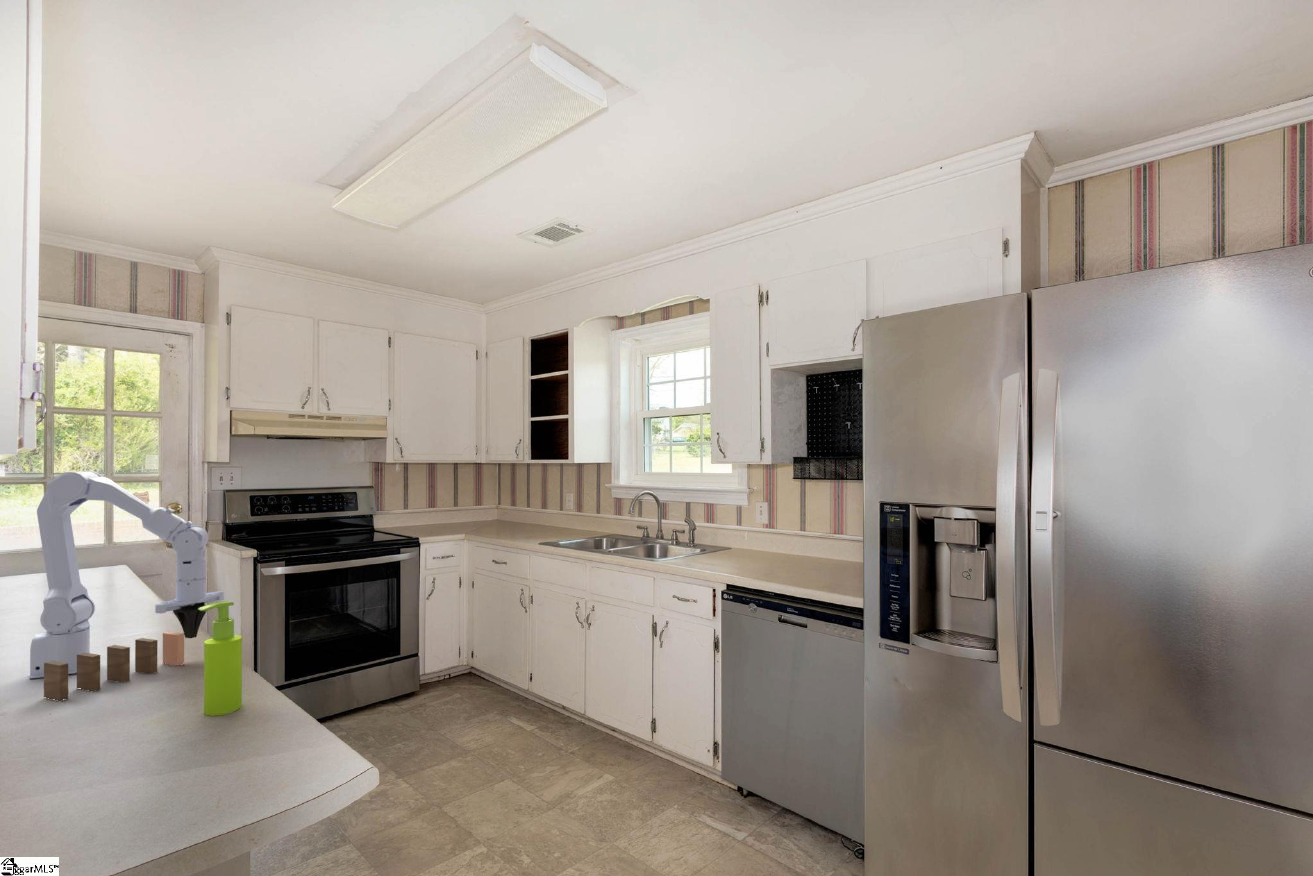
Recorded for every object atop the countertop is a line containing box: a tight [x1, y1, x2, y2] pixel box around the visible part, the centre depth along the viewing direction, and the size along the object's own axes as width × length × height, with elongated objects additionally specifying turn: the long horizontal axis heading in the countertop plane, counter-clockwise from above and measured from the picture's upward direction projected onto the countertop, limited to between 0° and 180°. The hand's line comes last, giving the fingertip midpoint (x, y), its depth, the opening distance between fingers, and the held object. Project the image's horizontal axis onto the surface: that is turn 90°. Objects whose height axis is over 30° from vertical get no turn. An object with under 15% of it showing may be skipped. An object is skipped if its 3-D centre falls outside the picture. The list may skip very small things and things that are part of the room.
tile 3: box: [106, 644, 131, 684], centre depth 140 cm, size 1×5×7 cm, turn 70°
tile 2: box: [134, 637, 158, 675], centre depth 145 cm, size 1×5×7 cm, turn 70°
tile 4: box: [76, 653, 101, 692], centre depth 135 cm, size 1×5×7 cm, turn 69°
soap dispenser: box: [198, 600, 243, 717], centre depth 123 cm, size 6×7×20 cm
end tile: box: [43, 661, 69, 702], centre depth 130 cm, size 1×5×7 cm, turn 69°
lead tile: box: [162, 631, 185, 666], centre depth 150 cm, size 1×5×7 cm, turn 70°
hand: (190, 637), depth 154 cm, fingers closed
